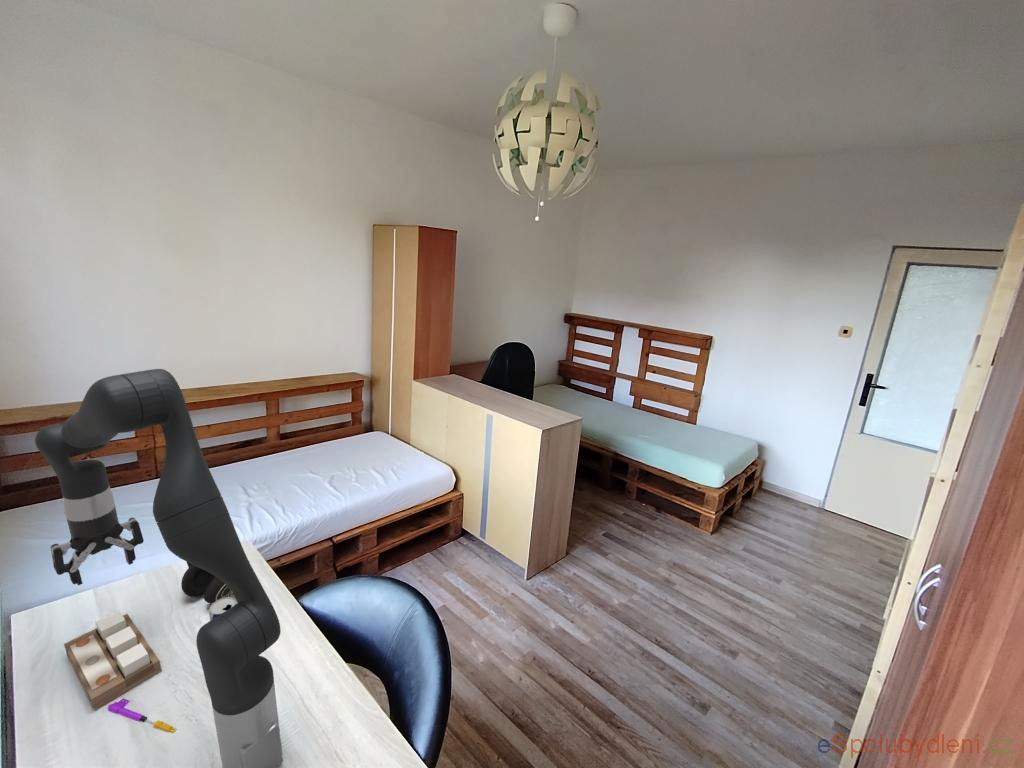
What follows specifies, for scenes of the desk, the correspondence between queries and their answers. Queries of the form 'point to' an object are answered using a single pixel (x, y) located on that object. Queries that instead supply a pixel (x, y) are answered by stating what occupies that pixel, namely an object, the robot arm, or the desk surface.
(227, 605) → the energy drink
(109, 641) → the button middle
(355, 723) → the desk surface
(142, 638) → the button board
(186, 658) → the desk surface
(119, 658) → the button
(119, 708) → the purple-handled probe tool
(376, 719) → the desk surface
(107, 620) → the button
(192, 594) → the headphones
